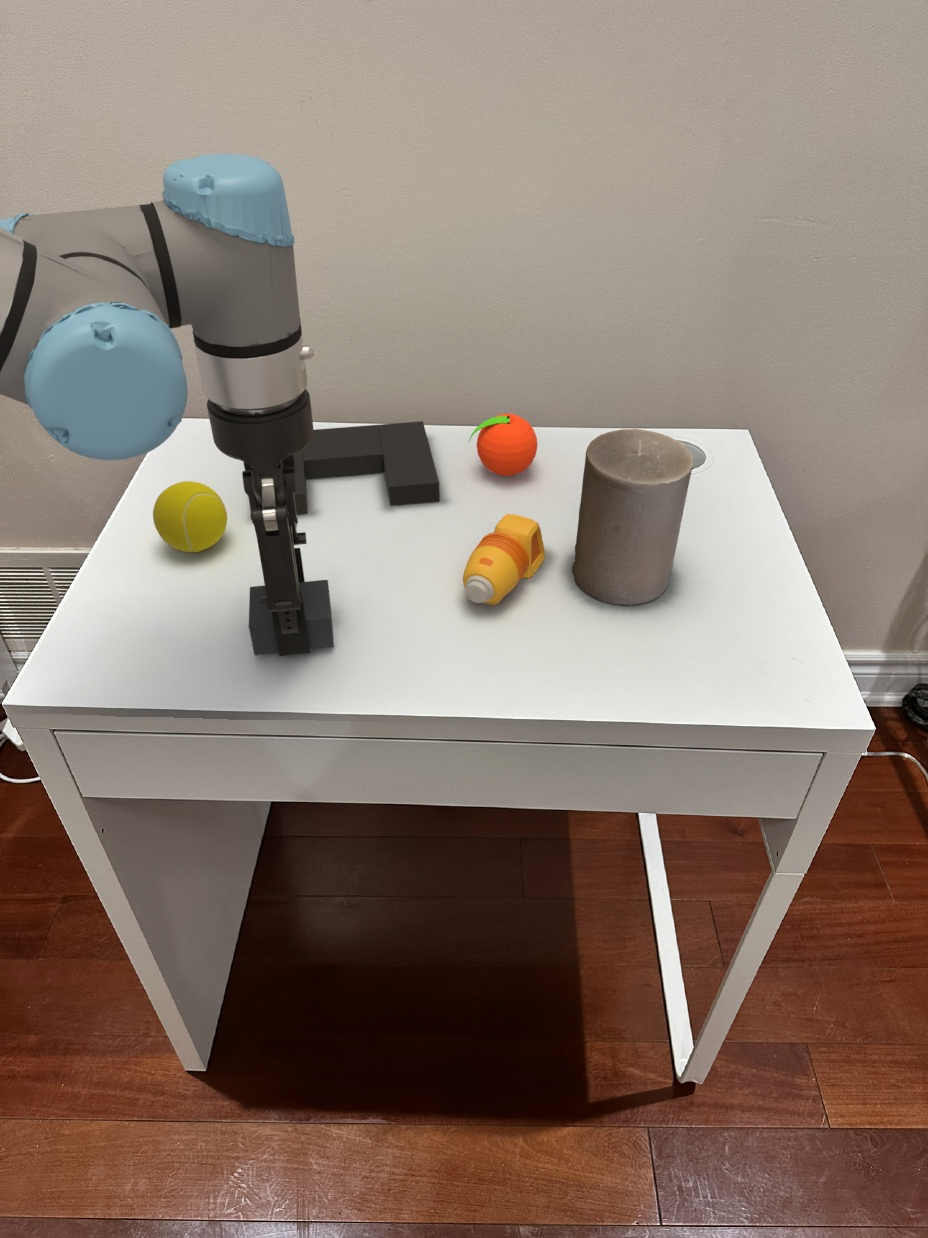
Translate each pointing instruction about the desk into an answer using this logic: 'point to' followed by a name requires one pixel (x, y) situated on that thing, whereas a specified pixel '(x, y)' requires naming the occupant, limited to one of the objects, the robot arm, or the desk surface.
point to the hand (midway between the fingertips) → (293, 628)
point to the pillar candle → (630, 515)
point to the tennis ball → (190, 516)
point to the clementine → (506, 444)
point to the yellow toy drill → (503, 559)
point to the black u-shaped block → (371, 460)
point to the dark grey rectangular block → (315, 614)
